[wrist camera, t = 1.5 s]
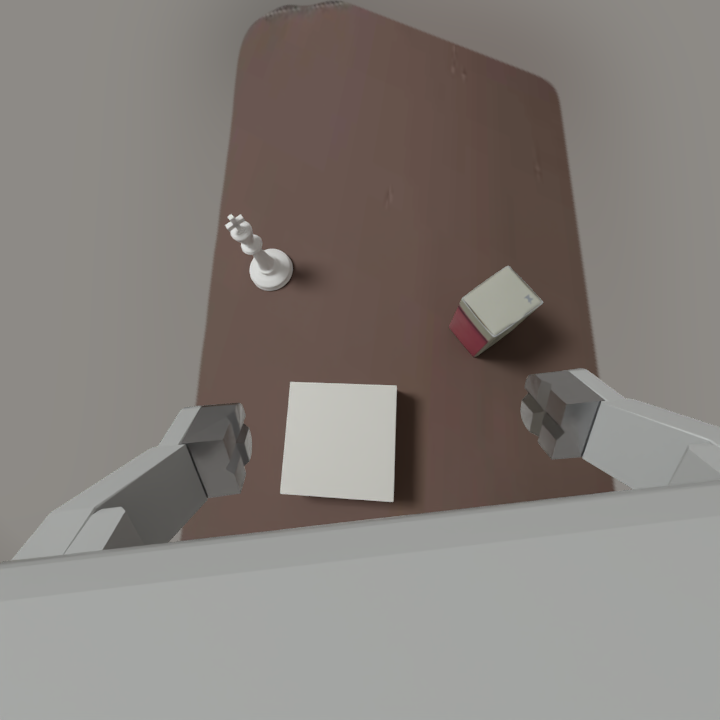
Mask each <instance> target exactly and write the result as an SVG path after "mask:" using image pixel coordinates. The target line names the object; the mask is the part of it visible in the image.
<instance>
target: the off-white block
mask: <svg viewBox="0 0 720 720" xmlns="http://www.w3.org/2000/svg"><path fill="white" fill-rule="evenodd" d="M396 406H397V386H394V385H364V384H335V383H306V382H290V392H289V403H288V414H287V424H286V435H285V446H284V457H283V467H282V478H281V489H280V494H291V495H304V496H318V497H331V498H344V499H358V500H371V501H385V502H393V501H394V478H395V442H396Z"/></svg>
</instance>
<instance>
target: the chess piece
mask: <svg viewBox="0 0 720 720" xmlns="http://www.w3.org/2000/svg"><path fill="white" fill-rule="evenodd" d="M228 219H229V220H230V222H229V223H228V224H226V225H225V226H226V228H227V229H228V230H229V231H231V236H232V237H233V239H235V240H236V241H238V242H241V247H242V250H243V252H244V253H246V254H249V255H253V256H254V259H253V260H252V262H251V265H250V276H251V279H252V280H253V282H254V284H255V285H256V286H257V287H259V288H260V289H263V290H266V291H273V290H277V289H280V288H281V287H283V286H284V285H286V284H287V282H288V281H289V280H290V278H291V276H292V272H293V265H292V262H291V260H290V258H289V257H288V256H287V255H286V254H285V253H284V252H282V251H280V250H277V249H267V250H263V249H262V240H261V238H260V237H259V236H257V235H254V234H253V231H252V227H251V225H250V224H249V223H248V222H246V221H245V220H244V218H243V217H242V216H241V214H240V215H239V216H237V217H236V218H234V217H233V215H232V214H231V215H229V216H228Z"/></svg>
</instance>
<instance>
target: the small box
mask: <svg viewBox="0 0 720 720" xmlns="http://www.w3.org/2000/svg"><path fill="white" fill-rule="evenodd" d="M542 304H543V301H542V300H541V299H540V298H539V297H538V296H537V295H536V293H535V292H534V291H533V290H532V289H531V288H530V287H529V286H528V285H527V284H526V283H525V282H524V281H523V280H522V278H520V277H519V276H518V275H517V274H516V273H515V272H514V271H513V270H512V269H511V267H509V266H506V267H505V268H503V269H502V270H500V271H499V272H497V273H496V274H494V275H493V276H492V277H490V278H489V279H487V280H486V281H484V282H483V283H482V284H480V285H479V286H478V287H476V288H475V289H473V290H472V291H471V292H470V293H468V294H467V295H466V296H464V297H463V298H462V300H461V302H460V304H459V306H458V308H457V310H456V313H455V315H454V317H453V319H452V321H451V323H450V325H449V328H450V329H451V330H452V332H453V333H454V334H455V335H456V337H457V338H458V339H459V340H460V342H461V343H462V344H463V345H464V347H465V348H466V349H467V350H468V351H469V352H470V354H471V355H472V356H473V357H476V356H478V355H479V354H481V353H482V352H484V351H485V350H487V349H488V348H489V347H491V346H492V345H493V344H495V343H496V342H497V341H499V340H500V339H501V338H503V337H504V336H505V335H507V334H508V333H509V332H511V331H512V330H513V329H514V328H515V327H516V326H518V325H519V324H520V323H521V322H522V321H523V320H524V319H525V318H526V317H528V316H529V315H530V314H531V313H532V312H533V311H535V310H536V309H537V308H538V307H539V306H540V305H542Z"/></svg>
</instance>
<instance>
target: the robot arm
mask: <svg viewBox="0 0 720 720" xmlns="http://www.w3.org/2000/svg"><path fill="white" fill-rule="evenodd" d="M525 389H526V390H527V392H528V394H527V395H526V396H525V397H524V399H523V400H522V403H521V416H522V420H523V423H524V425H525V426H526V428H527V429H528V430H529V432H531V433H533V434H535V435H537V436H539V439H538V443H539V444H540V446H541V447H542V448H543V449H544V451H545V452H546V453H547V454H548V456H549V457H550V458H551V459H563V458H575V457H583V459H584V460H586V461H588V462H589V463H591V464H593V465H594V466H596V467H597V468H599V469H601V470H602V471H604V472H606V473H607V474H609V475H611V476H612V477H614V478H616V479H617V480H619V481H621V482H622V483H624V484H625V485H627V486H629V487H631V488H632V490H623V491H615V492H606V493H597V494H588V495H580V496H571V497H562V498H553V499H545V500H536V501H527V502H519V503H510V504H501V505H492V506H483V507H474V508H466V509H457V510H448V511H439V512H430V513H422V514H413V515H404V516H395V517H386V518H378V519H369V520H361V521H352V522H343V523H335V524H326V525H318V526H309V527H301V528H292V529H283V530H275V531H266V532H258V533H249V534H240V535H231V536H222V537H213V538H204V539H195V540H186V541H177V542H169V541H170V540H171V539H172V538H173V537H174V536H175V535H176V533H177V532H178V531H179V530H180V529H181V528H182V527H183V526H184V525H185V524H186V523H187V521H188V520H189V519H190V518H191V517H192V516H193V515H194V514H195V513H196V512H197V511H198V510H199V508H200V507H201V506H202V505H203V504H204V503H205V502H206V501H207V498H211V497H218V496H225V495H233V494H240V493H241V490H242V486H243V483H244V479H245V476H246V472H245V468H244V466H245V465H246V464H247V463H248V462H249V461H250V457H251V452H252V440H251V433H250V429H249V427H247V426H246V425H245V424H244V423H243V422H244V418H245V412H244V409H243V405H241V404H240V403H230V404H217V405H204V406H193V407H185V408H183V409H181V410H180V412H179V414H178V415H177V417H176V418H175V420H174V422H173V423H172V425H171V426H170V428H169V429H168V431H167V433H166V434H165V436H164V437H163V439H162V440H161V442H160V444H159V445H158V447H153V448H150V449H148V450H147V451H145V452H144V453H142V454H141V455H139V456H138V457H136V458H134V459H133V460H131V461H130V462H128V463H127V464H125V465H124V466H122V467H121V468H119V469H117V470H116V471H115V472H113V473H112V474H110V475H108V476H107V477H105V478H104V479H102V480H100V481H99V482H97V483H96V484H94V485H93V486H91V487H90V488H88V489H86V490H85V491H83V492H82V493H80V494H79V495H77V496H76V497H74V498H72V499H71V500H69V501H68V502H66V503H65V504H63V505H62V506H60V507H59V508H57V509H56V510H54V511H52V512H51V513H50V514H49V515H48V516H47V517H46V519H45V520H44V521H43V522H42V523H41V525H40V526H39V527H38V528H37V529H36V531H35V532H34V533H33V534H32V536H31V537H30V538H29V539H28V541H27V542H26V543H25V544H24V545H23V546H22V548H21V549H20V550H19V551H18V553H17V554H16V555H15V556H14V557H13V559H12V560H11V561H3V562H0V720H720V427H718V426H715V425H712V424H709V423H705V422H703V421H699V420H696V419H693V418H690V417H687V416H684V415H681V414H678V413H675V412H672V411H669V410H666V409H663V408H660V407H656V406H653V405H651V404H648V403H644V402H641V401H638V400H635V399H631V398H630V399H626V398H624V397H623V396H621V395H620V394H619V393H618V392H616V391H615V390H613V389H612V388H610V386H608V385H607V384H605V383H604V382H603V381H601V380H600V379H599V378H597V377H596V376H595V375H593V374H592V373H591V372H589V371H588V370H586V369H582V368H579V369H572V370H564V371H558V372H549V373H541V374H532V375H529V376H528V378H527V379H526V383H525ZM168 542H169V543H168Z"/></svg>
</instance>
